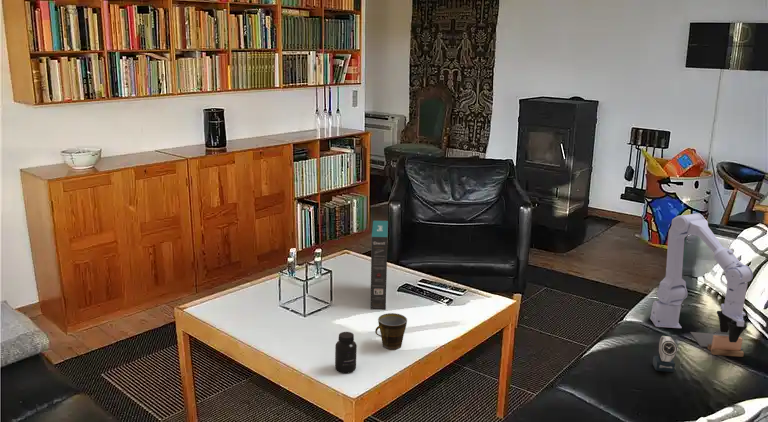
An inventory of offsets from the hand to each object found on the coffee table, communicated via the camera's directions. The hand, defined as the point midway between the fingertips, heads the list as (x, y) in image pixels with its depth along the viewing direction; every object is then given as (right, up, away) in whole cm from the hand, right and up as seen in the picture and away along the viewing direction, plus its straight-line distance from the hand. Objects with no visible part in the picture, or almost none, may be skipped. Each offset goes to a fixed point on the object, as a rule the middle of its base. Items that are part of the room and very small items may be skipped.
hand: (728, 336), depth 217 cm
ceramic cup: (-117, -4, 0) cm, 117 cm away
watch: (-27, -9, -10) cm, 30 cm away
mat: (+1, -4, +10) cm, 10 cm away
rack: (0, -6, +2) cm, 6 cm away
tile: (0, -6, +2) cm, 6 cm away
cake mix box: (-121, +7, +41) cm, 128 cm away
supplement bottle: (-131, -8, -14) cm, 132 cm away
